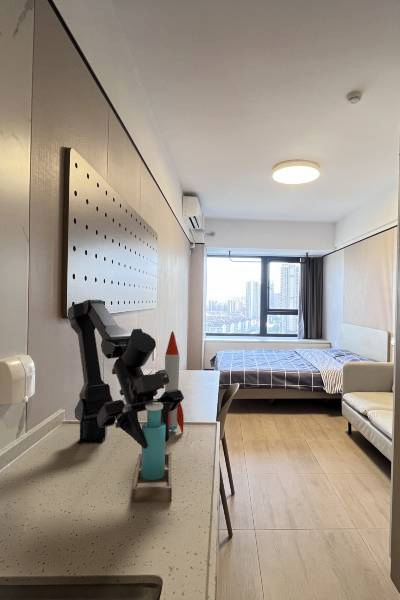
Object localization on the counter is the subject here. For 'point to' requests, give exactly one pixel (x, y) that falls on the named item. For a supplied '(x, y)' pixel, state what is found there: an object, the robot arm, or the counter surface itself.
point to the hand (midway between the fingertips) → (156, 444)
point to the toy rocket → (173, 382)
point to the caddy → (153, 485)
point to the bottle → (153, 443)
